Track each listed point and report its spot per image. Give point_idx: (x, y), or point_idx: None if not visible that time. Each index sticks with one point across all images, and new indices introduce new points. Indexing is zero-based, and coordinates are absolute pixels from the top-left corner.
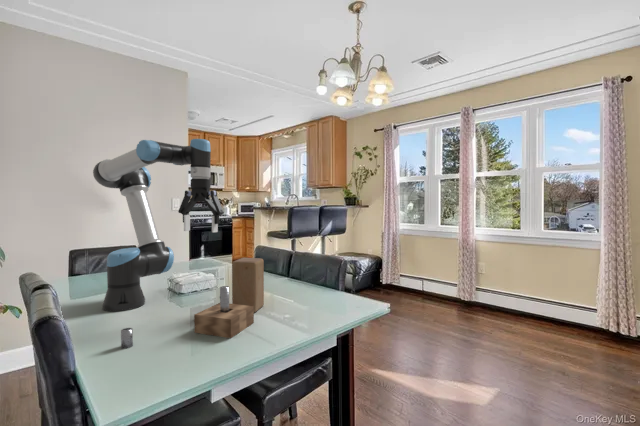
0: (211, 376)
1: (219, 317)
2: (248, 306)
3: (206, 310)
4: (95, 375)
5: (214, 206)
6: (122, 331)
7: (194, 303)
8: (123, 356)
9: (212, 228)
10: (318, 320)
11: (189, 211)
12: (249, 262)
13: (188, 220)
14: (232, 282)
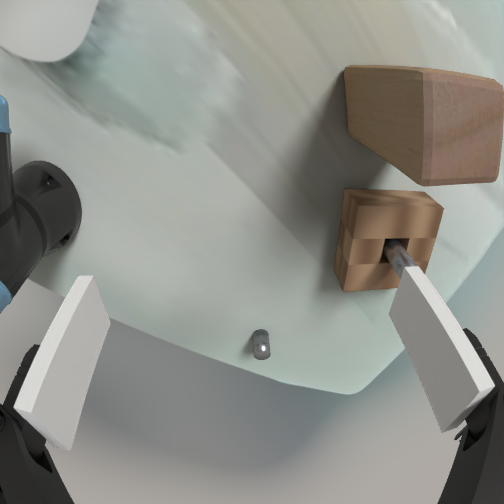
0: None
1: (398, 285)
2: (434, 212)
3: (355, 265)
4: (291, 376)
5: (499, 502)
6: (261, 359)
7: (185, 105)
8: (283, 350)
9: (406, 337)
10: None
11: (27, 459)
12: (483, 181)
13: (64, 371)
14: (384, 158)
